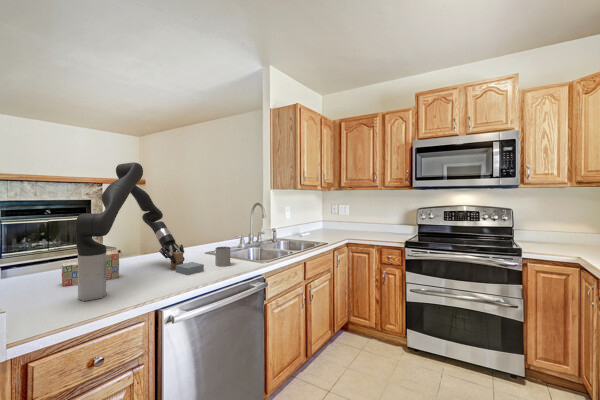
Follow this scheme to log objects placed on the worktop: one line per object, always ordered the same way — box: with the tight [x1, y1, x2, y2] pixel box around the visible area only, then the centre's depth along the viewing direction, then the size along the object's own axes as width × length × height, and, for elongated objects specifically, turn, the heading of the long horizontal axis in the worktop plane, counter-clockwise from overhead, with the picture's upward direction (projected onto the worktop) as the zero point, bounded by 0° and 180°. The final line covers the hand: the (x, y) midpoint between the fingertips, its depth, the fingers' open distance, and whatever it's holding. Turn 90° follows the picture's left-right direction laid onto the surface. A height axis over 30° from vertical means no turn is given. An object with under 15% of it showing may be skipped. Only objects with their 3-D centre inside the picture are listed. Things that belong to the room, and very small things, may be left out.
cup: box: [214, 246, 231, 268], centre depth 169 cm, size 8×8×10 cm
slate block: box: [175, 261, 205, 276], centre depth 154 cm, size 10×10×4 cm
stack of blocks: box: [61, 251, 120, 288], centre depth 136 cm, size 21×6×12 cm, turn 133°
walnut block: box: [170, 251, 184, 271], centre depth 159 cm, size 4×4×9 cm
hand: (179, 261), depth 158 cm, fingers closed on walnut block, 4 cm apart
